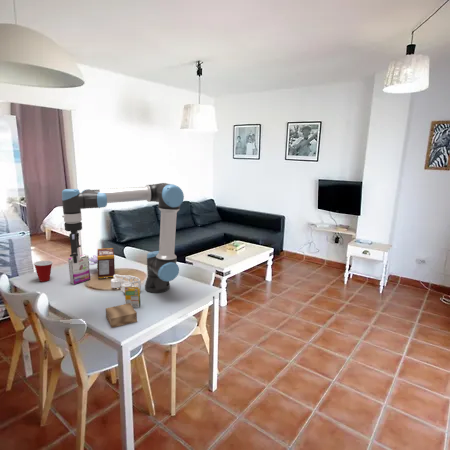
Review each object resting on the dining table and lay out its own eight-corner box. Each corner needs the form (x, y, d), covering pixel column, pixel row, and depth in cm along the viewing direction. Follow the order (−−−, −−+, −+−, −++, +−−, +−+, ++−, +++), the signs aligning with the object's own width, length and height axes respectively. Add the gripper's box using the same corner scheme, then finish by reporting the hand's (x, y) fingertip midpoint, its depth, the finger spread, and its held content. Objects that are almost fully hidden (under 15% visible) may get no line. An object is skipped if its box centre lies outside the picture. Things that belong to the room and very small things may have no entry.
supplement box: (113, 268, 223) (113, 247, 219) (114, 278, 209) (114, 256, 205) (98, 269, 219) (97, 248, 215) (98, 279, 206) (97, 257, 201)
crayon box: (140, 305, 172) (139, 285, 170) (139, 307, 169) (138, 287, 167) (127, 305, 172) (126, 284, 169) (125, 307, 169) (124, 287, 166)
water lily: (100, 275, 212) (99, 262, 210) (81, 271, 216) (80, 258, 213) (113, 267, 226) (112, 255, 224) (95, 263, 230) (94, 251, 227)
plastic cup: (57, 279, 205) (56, 261, 202) (40, 284, 196) (38, 266, 194) (49, 275, 211) (47, 258, 208) (32, 280, 202) (30, 262, 200)
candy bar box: (86, 277, 208) (84, 254, 205) (90, 279, 205) (89, 255, 202) (69, 282, 200) (67, 258, 196) (73, 284, 197) (71, 259, 193)
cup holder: (107, 288, 193) (107, 276, 192) (123, 282, 202) (122, 272, 201) (128, 297, 182) (127, 285, 180) (143, 291, 190) (143, 279, 189)
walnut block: (130, 312, 165) (129, 303, 164) (137, 322, 155) (136, 312, 154) (106, 317, 159) (105, 308, 158) (111, 328, 149) (111, 318, 148)
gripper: (66, 217, 160) (70, 257, 164) (61, 227, 137) (66, 274, 142) (82, 216, 162) (85, 256, 167) (80, 226, 140) (84, 272, 144)
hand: (76, 264), depth 154 cm, fingers open, 13 cm apart
